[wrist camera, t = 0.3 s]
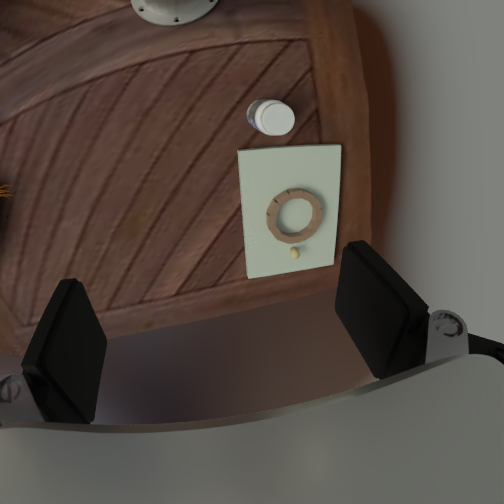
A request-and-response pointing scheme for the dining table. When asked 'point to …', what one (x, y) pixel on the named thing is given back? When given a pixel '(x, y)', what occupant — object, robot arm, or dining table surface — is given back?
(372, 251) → the robot arm
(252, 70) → the dining table surface
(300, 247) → the socket board
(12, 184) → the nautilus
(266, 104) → the pill bottle
